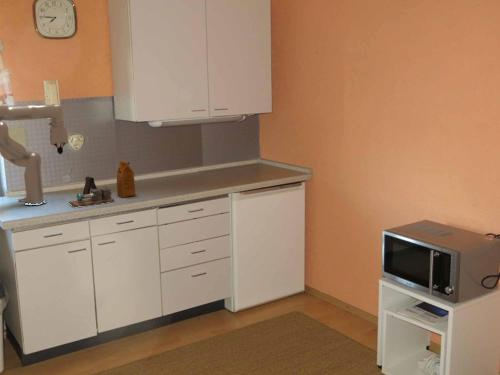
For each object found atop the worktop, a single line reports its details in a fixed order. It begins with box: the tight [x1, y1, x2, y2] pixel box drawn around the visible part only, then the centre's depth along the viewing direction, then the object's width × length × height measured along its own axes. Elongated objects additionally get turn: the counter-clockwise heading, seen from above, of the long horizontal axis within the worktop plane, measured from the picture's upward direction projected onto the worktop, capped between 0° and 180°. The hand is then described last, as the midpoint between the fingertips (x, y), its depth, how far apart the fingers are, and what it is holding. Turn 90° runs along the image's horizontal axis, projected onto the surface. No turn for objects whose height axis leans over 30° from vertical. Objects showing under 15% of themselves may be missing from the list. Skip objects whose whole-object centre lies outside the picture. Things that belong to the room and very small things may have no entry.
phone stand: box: [82, 176, 98, 195], centre depth 375 cm, size 9×6×12 cm, turn 131°
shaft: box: [76, 192, 104, 201], centre depth 357 cm, size 20×4×4 cm, turn 122°
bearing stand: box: [68, 187, 115, 208], centre depth 356 cm, size 24×12×8 cm, turn 122°
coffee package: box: [116, 159, 136, 198], centre depth 372 cm, size 10×12×22 cm
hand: (60, 153), depth 372 cm, fingers closed
